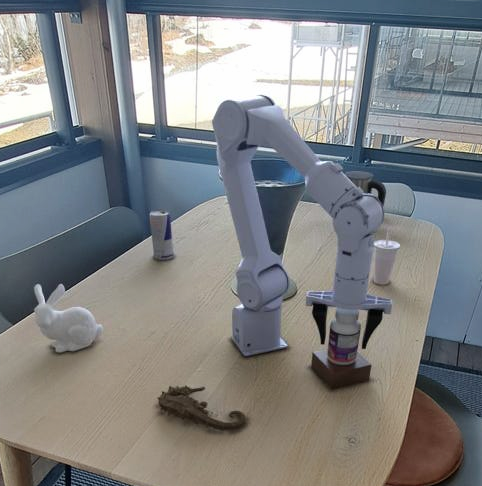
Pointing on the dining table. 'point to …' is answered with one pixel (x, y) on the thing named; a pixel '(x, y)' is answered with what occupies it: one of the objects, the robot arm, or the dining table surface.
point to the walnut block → (340, 370)
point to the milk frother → (367, 183)
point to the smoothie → (384, 259)
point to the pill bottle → (344, 337)
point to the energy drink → (161, 234)
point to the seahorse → (194, 408)
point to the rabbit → (65, 323)
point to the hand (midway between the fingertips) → (343, 344)
